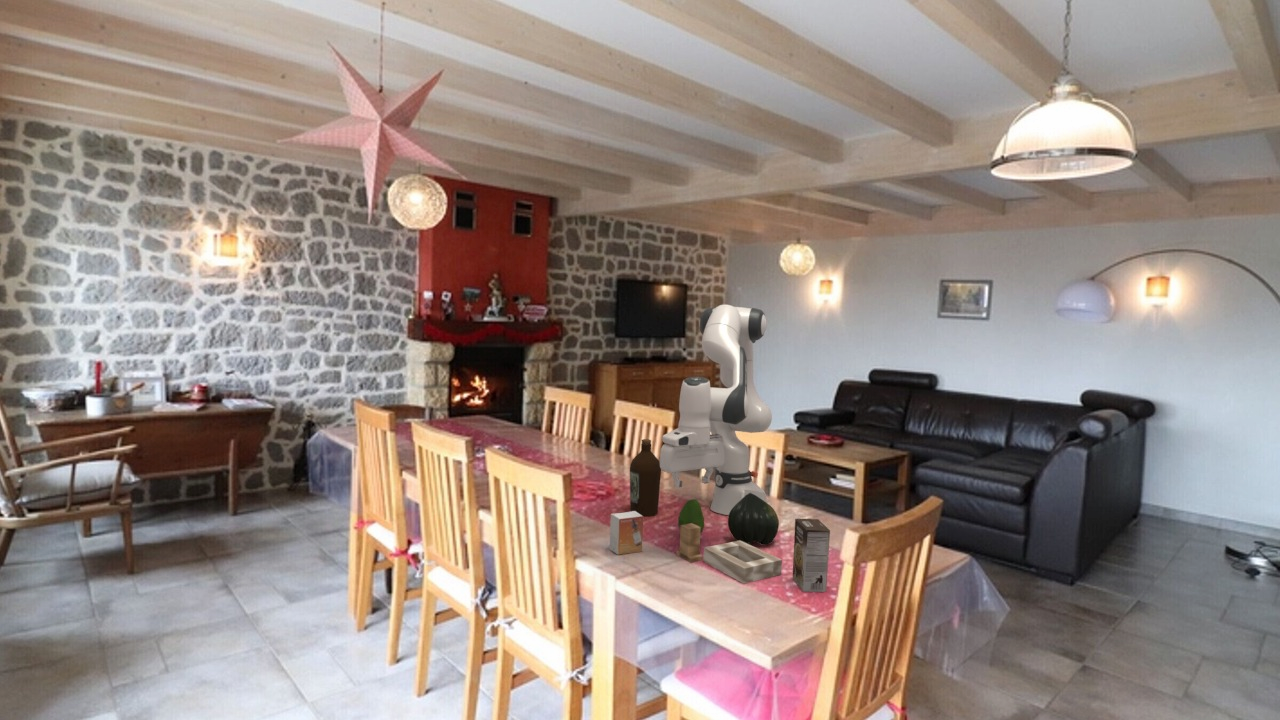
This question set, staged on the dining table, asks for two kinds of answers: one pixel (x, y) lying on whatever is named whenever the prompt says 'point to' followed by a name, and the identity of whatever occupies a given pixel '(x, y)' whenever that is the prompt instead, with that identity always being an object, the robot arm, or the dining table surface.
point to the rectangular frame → (742, 561)
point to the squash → (753, 521)
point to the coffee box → (811, 555)
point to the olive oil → (645, 481)
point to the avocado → (691, 514)
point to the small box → (626, 532)
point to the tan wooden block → (690, 543)
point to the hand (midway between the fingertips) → (692, 484)
